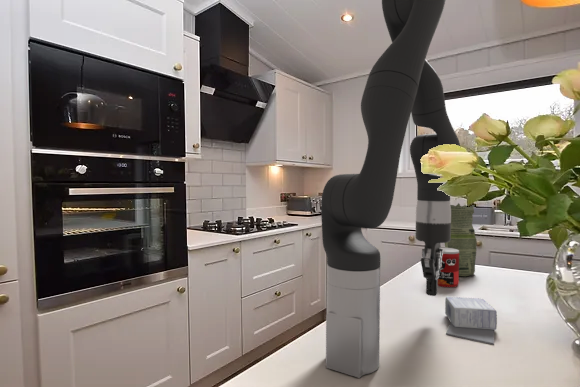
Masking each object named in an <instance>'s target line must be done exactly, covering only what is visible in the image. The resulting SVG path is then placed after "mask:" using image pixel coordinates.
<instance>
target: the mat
mask: <svg viewBox="0 0 580 387" xmlns="http://www.w3.org/2000/svg"><path fill="white" fill-rule="evenodd" d="M445 335H447V336H452V337H456V338H461V339H464V340H465V339H466V340H470V341H474V342H479V343H483V344H489V345H493V346H494V344H495V330H491V329H477V328H463V327H454V326H453V325H452V323H451V322H450V321H449V324H448V328H447V329H446V333H445Z"/></svg>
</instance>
